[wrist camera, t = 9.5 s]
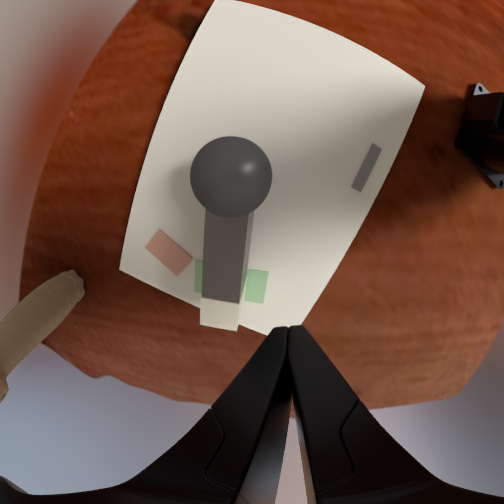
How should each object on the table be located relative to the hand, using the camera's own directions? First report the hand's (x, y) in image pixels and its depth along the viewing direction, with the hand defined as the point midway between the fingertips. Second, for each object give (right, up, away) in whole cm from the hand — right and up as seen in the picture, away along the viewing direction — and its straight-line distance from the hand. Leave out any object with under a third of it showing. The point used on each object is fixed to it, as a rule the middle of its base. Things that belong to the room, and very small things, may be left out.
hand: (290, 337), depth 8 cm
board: (-1, +8, +10) cm, 13 cm away
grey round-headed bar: (-2, +4, +10) cm, 11 cm away
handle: (-19, 0, +16) cm, 25 cm away
